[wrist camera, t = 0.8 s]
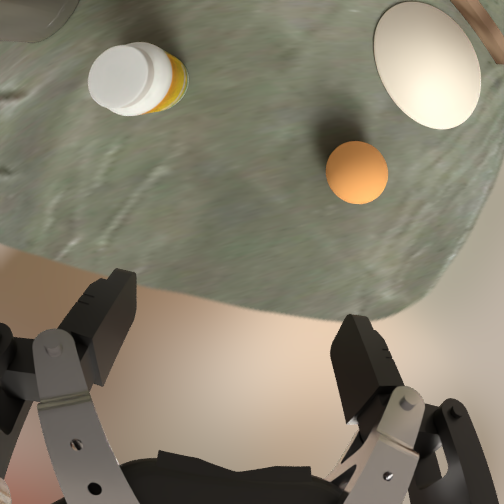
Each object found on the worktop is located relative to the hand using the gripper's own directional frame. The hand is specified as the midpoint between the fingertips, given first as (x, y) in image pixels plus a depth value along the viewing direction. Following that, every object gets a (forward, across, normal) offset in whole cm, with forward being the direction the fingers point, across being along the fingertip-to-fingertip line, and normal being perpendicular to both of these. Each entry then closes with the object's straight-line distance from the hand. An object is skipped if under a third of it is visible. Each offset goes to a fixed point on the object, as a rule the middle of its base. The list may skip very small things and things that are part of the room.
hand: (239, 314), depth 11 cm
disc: (+18, -15, -18) cm, 29 cm away
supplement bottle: (+17, +10, -8) cm, 22 cm away
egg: (+15, -8, -4) cm, 18 cm away
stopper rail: (+18, -19, -27) cm, 37 cm away
